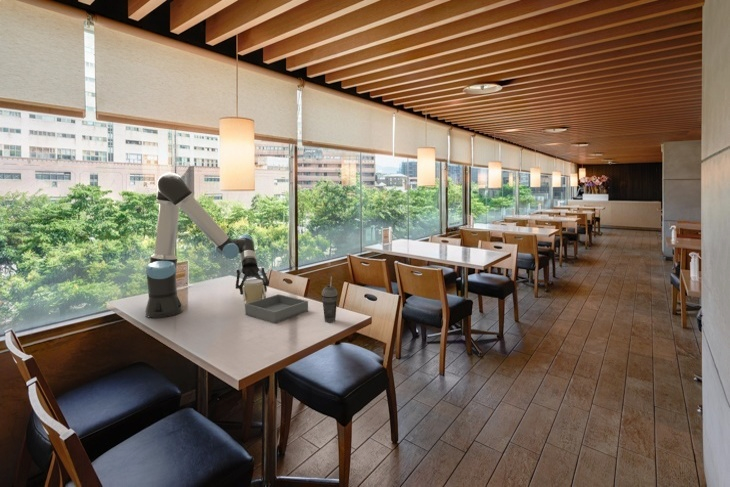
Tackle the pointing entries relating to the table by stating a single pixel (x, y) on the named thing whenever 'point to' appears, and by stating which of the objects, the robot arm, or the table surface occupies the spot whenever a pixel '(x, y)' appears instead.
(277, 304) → the grey bin
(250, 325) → the table surface
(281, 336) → the table surface
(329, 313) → the beverage cup
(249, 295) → the coffee cup
